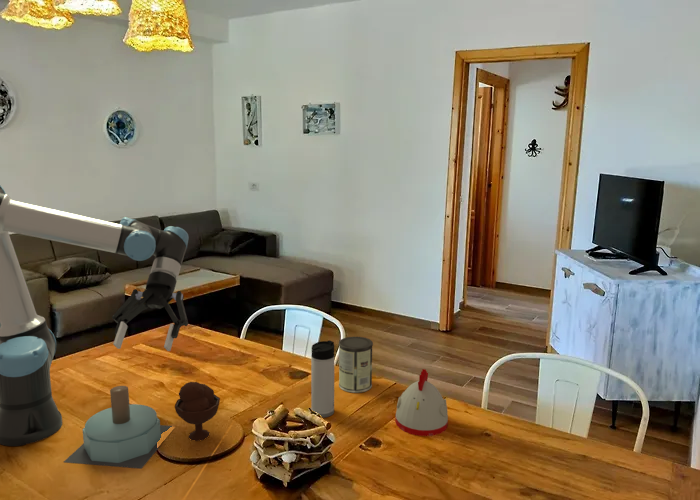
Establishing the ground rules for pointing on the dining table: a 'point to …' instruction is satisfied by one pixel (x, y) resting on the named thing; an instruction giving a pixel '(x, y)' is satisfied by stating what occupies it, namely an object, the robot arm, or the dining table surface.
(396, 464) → the dining table surface
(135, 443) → the lid
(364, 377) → the coffee can
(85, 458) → the mat
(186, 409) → the ice cream bowl
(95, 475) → the dining table surface
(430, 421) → the kitchen timer
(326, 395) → the travel mug
